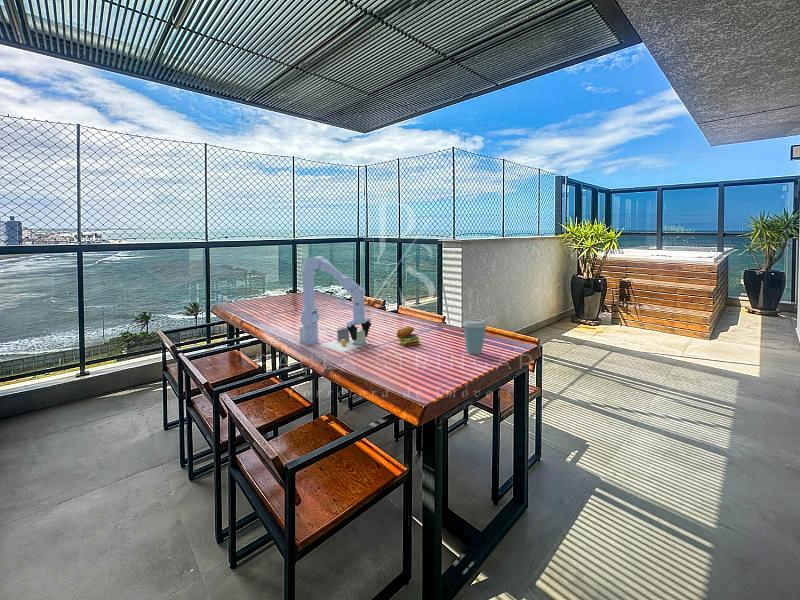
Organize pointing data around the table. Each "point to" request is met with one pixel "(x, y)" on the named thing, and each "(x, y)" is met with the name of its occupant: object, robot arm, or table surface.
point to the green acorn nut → (360, 337)
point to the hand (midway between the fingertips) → (359, 338)
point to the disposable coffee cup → (474, 335)
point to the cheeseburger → (408, 336)
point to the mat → (339, 347)
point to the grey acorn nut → (343, 334)
